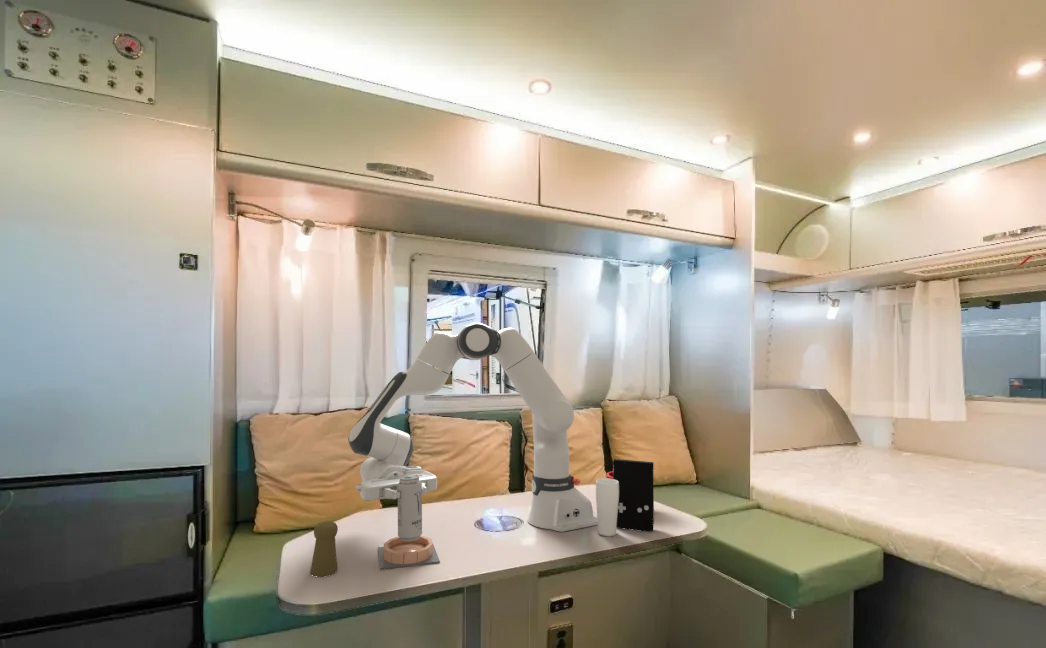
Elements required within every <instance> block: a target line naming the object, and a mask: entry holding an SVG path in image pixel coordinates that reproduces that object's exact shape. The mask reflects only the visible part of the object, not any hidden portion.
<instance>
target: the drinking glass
mask: <svg viewBox="0 0 1046 648" xmlns="http://www.w3.org/2000/svg"><path fill="white" fill-rule="evenodd" d="M595 504H596V515H597V519H598V525H597V533H598V534H599V535H600V536H604V537H614V536H616V534H617V532H618V531H617V528H618V527H617V515H618V504H619V481H617V480H614V479H608V478H606V477H603V478H597V479H596V480H595Z"/></svg>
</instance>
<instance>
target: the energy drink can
mask: <svg viewBox="0 0 1046 648" xmlns="http://www.w3.org/2000/svg"><path fill="white" fill-rule="evenodd" d="M397 489H398V491H400V498H399V499H397V537H400V540H401V541H415V540H417V539H419V538H420V535H421V536H422V535H423V502H422V501H423V499H422V498H423V497H422V496H423V495H422V483H421V481H420V480H419V476H404V477H401V478H400V481H399V483H398V485H397Z"/></svg>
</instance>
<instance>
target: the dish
mask: <svg viewBox="0 0 1046 648" xmlns="http://www.w3.org/2000/svg"><path fill="white" fill-rule="evenodd" d="M377 549H378V558H379V561H378V562H379V569H380V571H382V569H383V570H384V569H385V570H391V569H392V568H393V569H399V567H401V568H407V567H408V566H409V567H415V566H416V565H418V566H425V565H426V566H427V565H434V564H440V561H441V560H440V558H439V556H438V553H437V550H436V548H435V544H434V542H433V540H432V538H430V537H427V536H425V535H422V534H421V535H420V538H419V539H417V540H415V541H401V540H400V537H398V536H395V537H392V538H389V539H388V540H387V541H385V542H384V543H383V546H378V548H377ZM393 569H392V570H393Z"/></svg>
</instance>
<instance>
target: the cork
mask: <svg viewBox="0 0 1046 648" xmlns="http://www.w3.org/2000/svg"><path fill="white" fill-rule="evenodd" d="M336 523H337V522H334V521H321V522H320V523H317V524H316V526H315V527H314V530H313V537H314V538H315V543H314V548H313V555H312V560H311V566H310V571H309V574H311V575H313V576H317V577H316V578H325V577H324V576H326V577H329V575H330V576H332V574H333V575H335V574H336V573H337V572H338V571H337V570H339V568H338V557H337V555H338V554H337V546H336V545H337V544H336V536H337V534H338V531H339V529H338V524H336ZM335 572H336V573H335ZM311 575H310V576H311ZM313 576H312V577H313Z"/></svg>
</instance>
